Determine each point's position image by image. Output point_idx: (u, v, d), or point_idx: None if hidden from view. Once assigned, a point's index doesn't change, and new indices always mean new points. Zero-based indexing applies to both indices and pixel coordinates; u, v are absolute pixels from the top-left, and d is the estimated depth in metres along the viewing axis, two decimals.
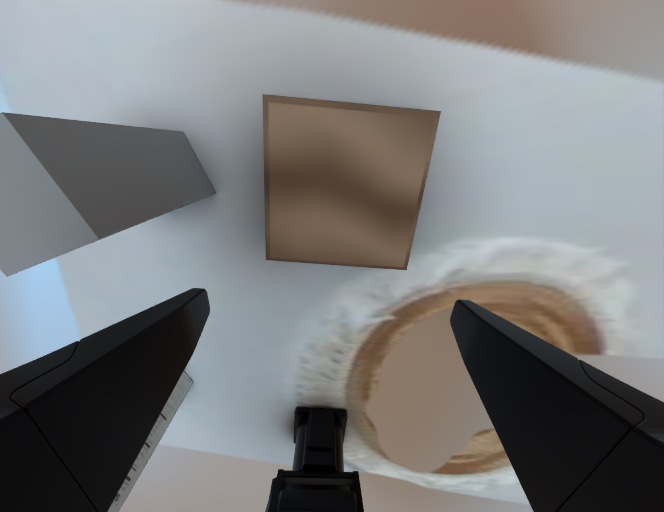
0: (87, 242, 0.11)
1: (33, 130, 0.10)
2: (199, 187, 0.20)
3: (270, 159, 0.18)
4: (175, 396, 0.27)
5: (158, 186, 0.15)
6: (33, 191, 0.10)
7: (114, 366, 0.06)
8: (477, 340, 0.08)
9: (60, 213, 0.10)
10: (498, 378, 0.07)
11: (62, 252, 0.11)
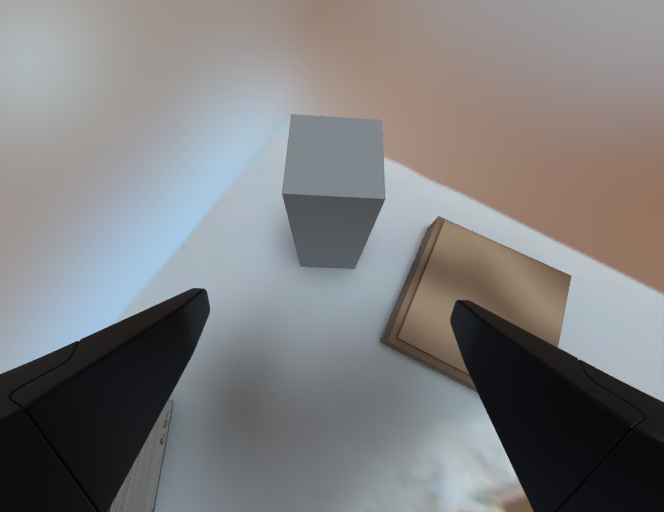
0: (374, 197, 0.12)
1: None
2: None
3: (432, 253, 0.21)
4: None
5: None
6: (363, 155, 0.13)
7: (114, 367, 0.06)
8: (477, 340, 0.08)
9: (370, 173, 0.13)
10: (498, 378, 0.07)
11: (347, 195, 0.12)
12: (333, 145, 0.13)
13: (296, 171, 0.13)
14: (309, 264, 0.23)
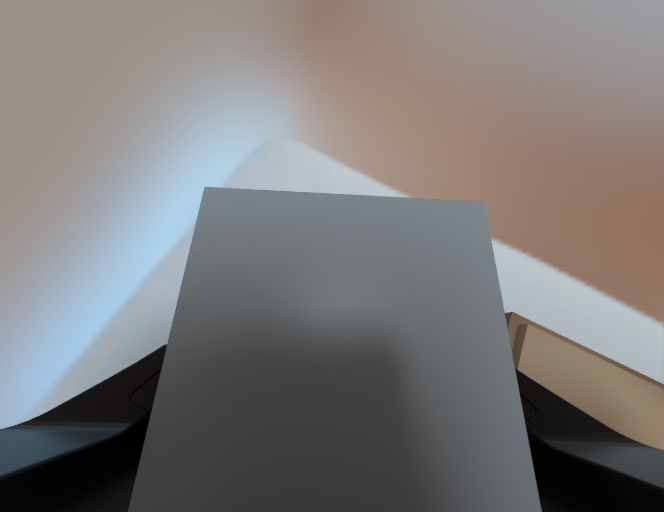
0: None
1: None
2: None
3: None
4: None
5: None
6: (441, 345, 0.04)
7: None
8: None
9: (473, 431, 0.03)
10: None
11: None
12: (337, 302, 0.04)
13: (192, 430, 0.03)
14: None
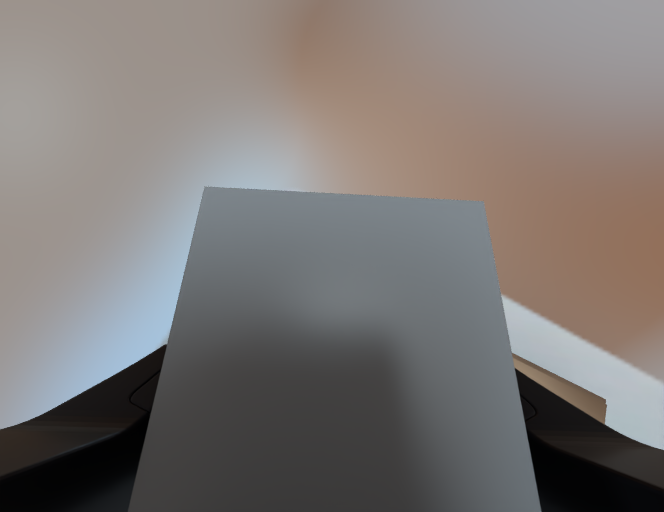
0: None
1: None
2: None
3: None
4: None
5: None
6: (441, 344, 0.04)
7: None
8: None
9: (473, 431, 0.03)
10: None
11: None
12: (337, 301, 0.04)
13: (192, 430, 0.03)
14: None
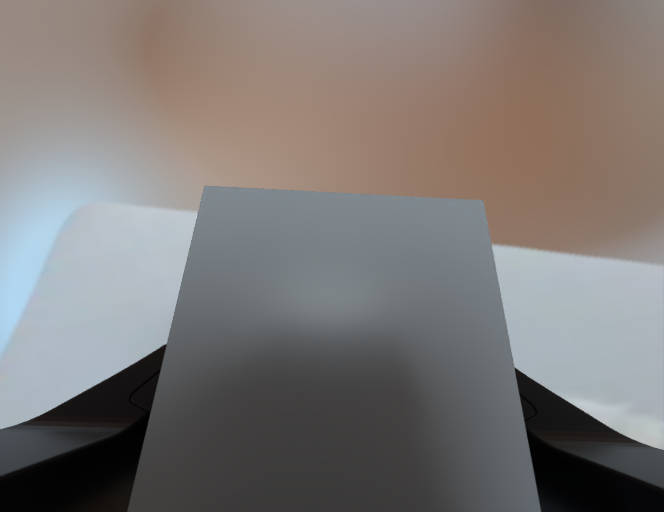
0: None
1: None
2: None
3: None
4: None
5: None
6: (440, 343, 0.04)
7: None
8: None
9: (473, 429, 0.03)
10: None
11: None
12: (336, 300, 0.04)
13: (191, 429, 0.03)
14: None
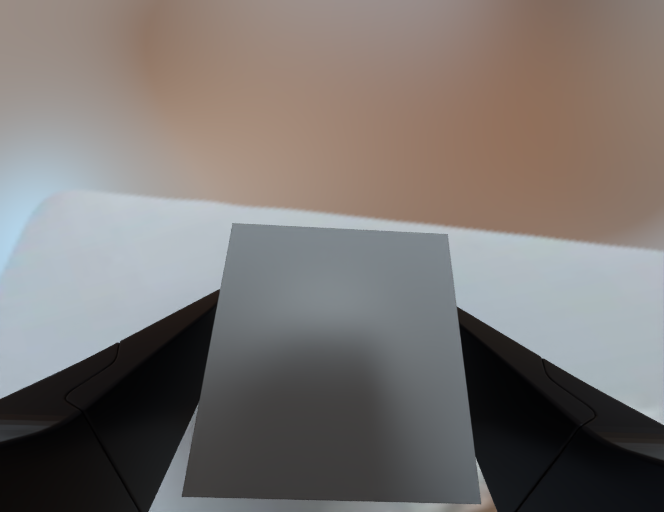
0: (449, 499, 0.04)
1: None
2: None
3: None
4: None
5: None
6: (410, 345, 0.05)
7: (154, 368, 0.06)
8: None
9: (431, 406, 0.05)
10: (466, 377, 0.07)
11: (372, 497, 0.04)
12: (333, 312, 0.05)
13: (230, 405, 0.05)
14: None
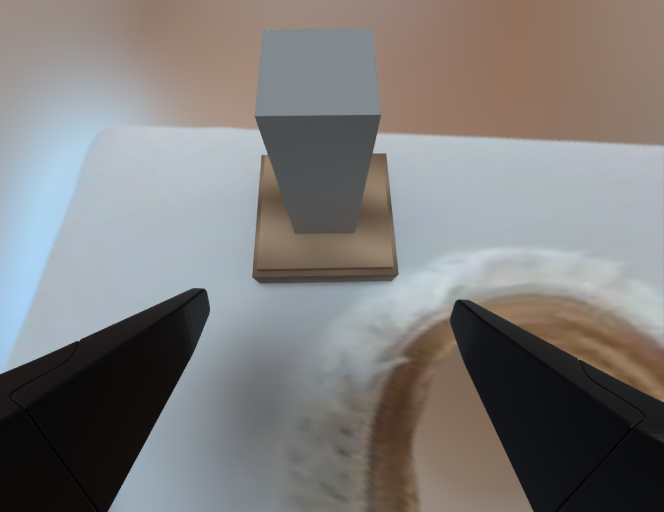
0: (367, 113, 0.10)
1: None
2: None
3: (263, 187, 0.23)
4: None
5: None
6: (352, 68, 0.11)
7: (113, 367, 0.06)
8: (477, 340, 0.08)
9: (361, 87, 0.11)
10: (498, 378, 0.07)
11: (334, 113, 0.10)
12: (315, 59, 0.11)
13: (271, 90, 0.11)
14: (304, 230, 0.21)
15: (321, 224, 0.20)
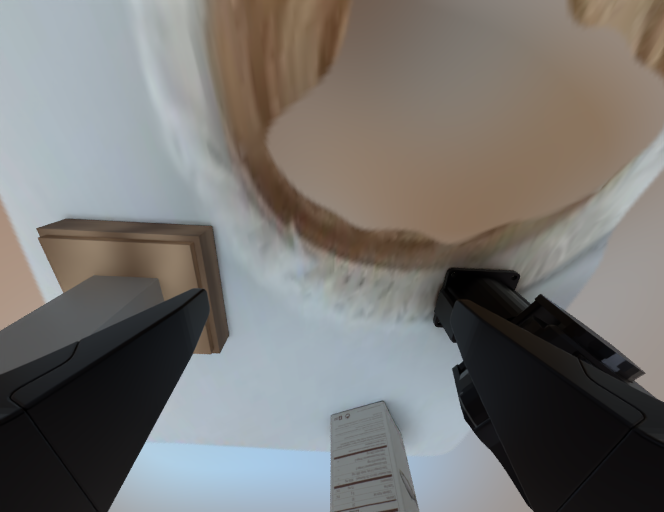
0: None
1: None
2: (128, 292, 0.18)
3: None
4: (378, 425, 0.29)
5: (59, 336, 0.14)
6: None
7: (114, 367, 0.06)
8: (477, 340, 0.08)
9: None
10: (498, 378, 0.07)
11: None
12: None
13: None
14: None
15: None
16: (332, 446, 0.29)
